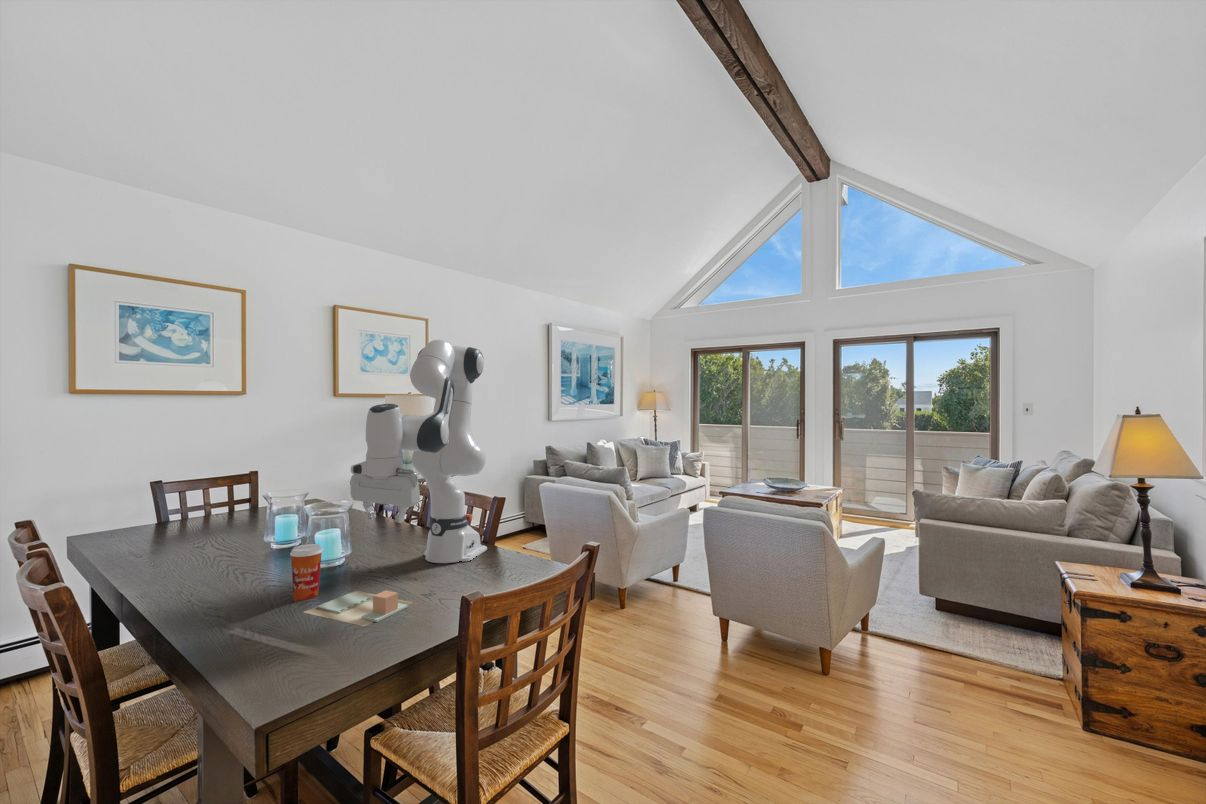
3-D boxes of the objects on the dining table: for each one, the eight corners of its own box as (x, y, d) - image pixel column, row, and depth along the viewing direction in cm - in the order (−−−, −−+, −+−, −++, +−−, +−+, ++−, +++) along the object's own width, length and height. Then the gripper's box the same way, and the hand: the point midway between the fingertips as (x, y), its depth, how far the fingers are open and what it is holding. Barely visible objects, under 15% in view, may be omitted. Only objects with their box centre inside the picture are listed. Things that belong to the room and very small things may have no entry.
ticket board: (356, 595, 144) (356, 588, 144) (413, 607, 136) (413, 600, 136) (302, 617, 129) (302, 609, 129) (363, 631, 121) (363, 623, 121)
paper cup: (285, 606, 135) (285, 552, 135) (294, 596, 143) (294, 544, 142) (318, 604, 137) (319, 550, 137) (326, 593, 145) (326, 542, 145)
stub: (392, 603, 135) (393, 586, 135) (408, 606, 133) (408, 589, 133) (361, 618, 126) (361, 599, 126) (377, 622, 124) (377, 603, 124)
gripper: (425, 468, 135) (425, 521, 135) (364, 462, 142) (365, 513, 143) (407, 472, 129) (408, 527, 130) (345, 466, 137) (346, 519, 137)
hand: (385, 520), depth 136 cm, fingers open, 8 cm apart
